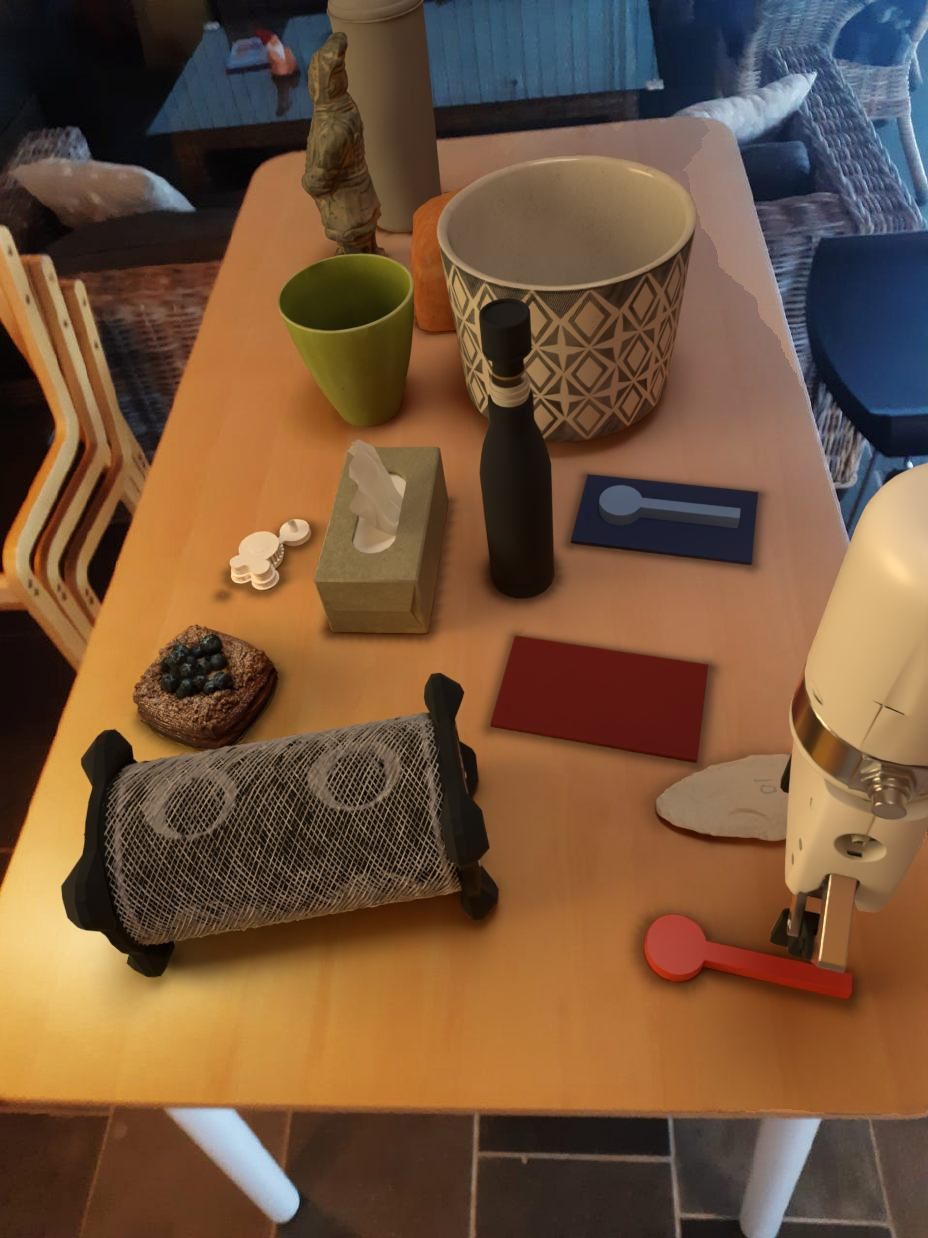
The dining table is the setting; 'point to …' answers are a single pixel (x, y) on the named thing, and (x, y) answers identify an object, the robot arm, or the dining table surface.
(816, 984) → the red spoon
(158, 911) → the speaker
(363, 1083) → the dining table surface
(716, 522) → the grey spoon
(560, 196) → the planter
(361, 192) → the statue
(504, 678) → the maroon mat
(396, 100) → the canister
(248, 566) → the white lobed flat piece
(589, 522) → the navy mat
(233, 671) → the pastry
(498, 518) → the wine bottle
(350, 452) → the tissue box
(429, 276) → the bread
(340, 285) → the flower pot
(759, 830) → the stone
